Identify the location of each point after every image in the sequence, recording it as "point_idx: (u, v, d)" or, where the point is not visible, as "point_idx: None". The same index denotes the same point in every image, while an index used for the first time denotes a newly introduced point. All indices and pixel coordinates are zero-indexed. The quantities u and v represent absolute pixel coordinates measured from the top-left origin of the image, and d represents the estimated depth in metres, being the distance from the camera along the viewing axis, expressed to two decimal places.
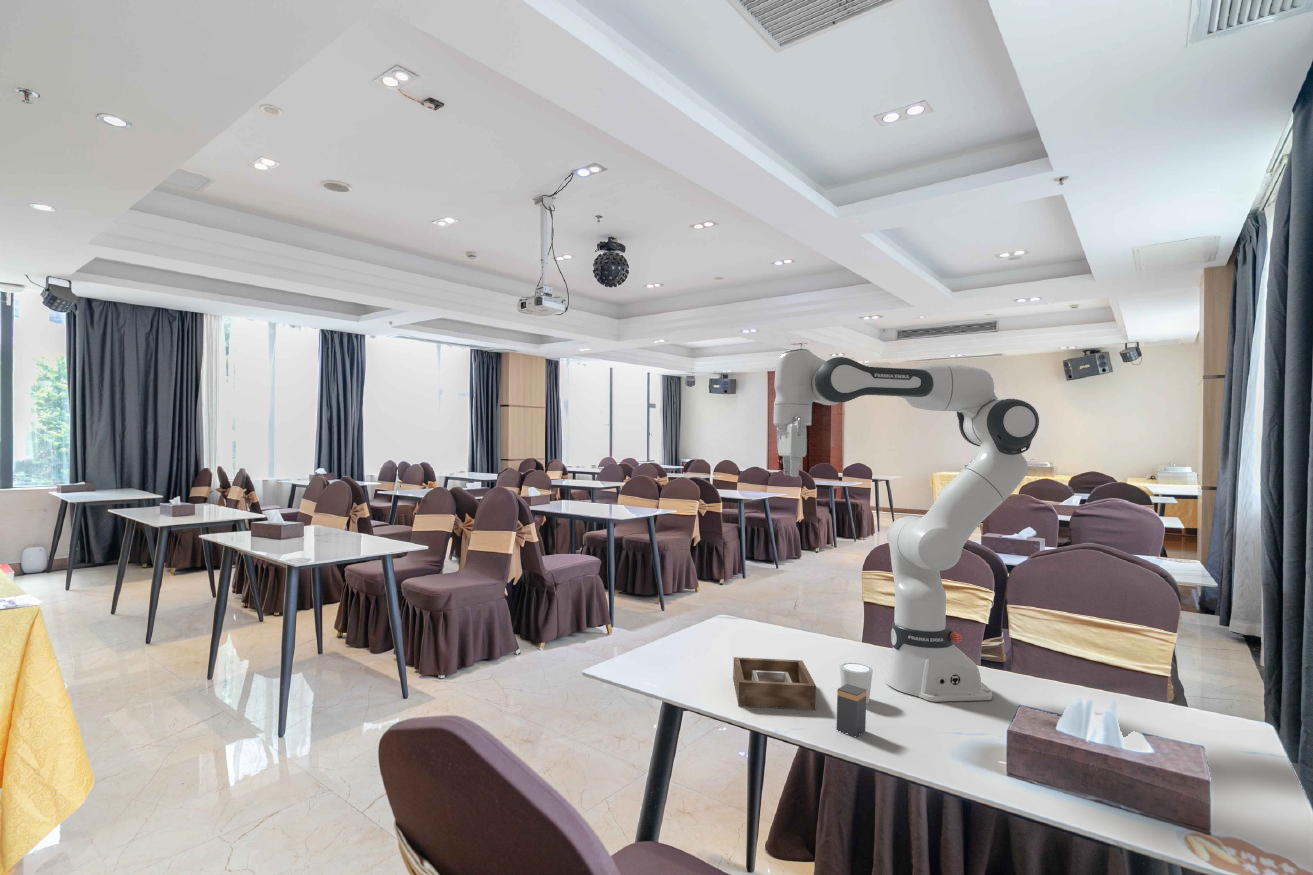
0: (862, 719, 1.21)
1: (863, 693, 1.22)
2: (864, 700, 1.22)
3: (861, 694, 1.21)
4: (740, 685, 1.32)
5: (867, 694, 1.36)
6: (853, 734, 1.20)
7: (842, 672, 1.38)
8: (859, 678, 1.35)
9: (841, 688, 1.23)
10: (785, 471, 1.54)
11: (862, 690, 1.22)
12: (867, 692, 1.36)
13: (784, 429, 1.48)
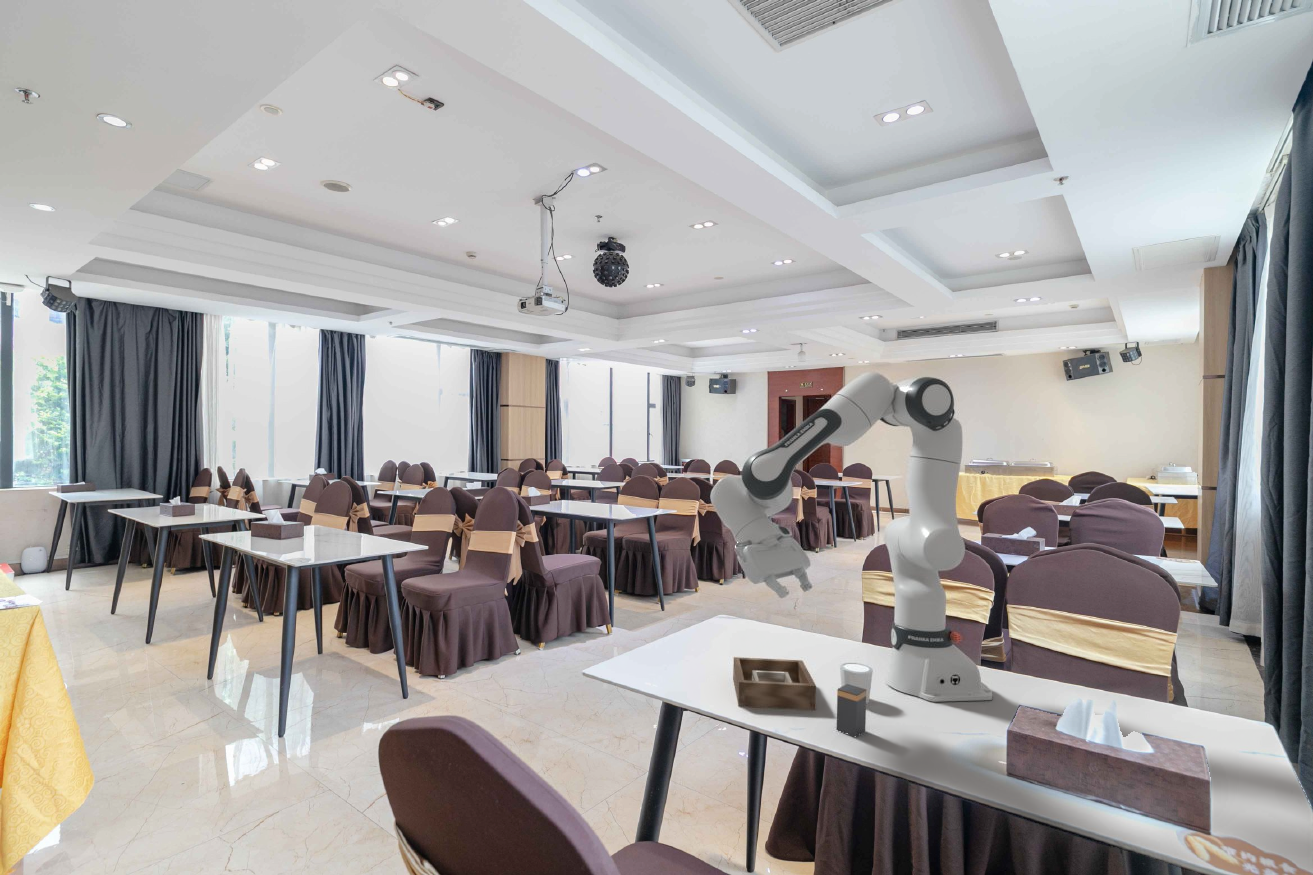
0: (862, 719, 1.21)
1: (863, 693, 1.22)
2: (864, 700, 1.22)
3: (861, 694, 1.21)
4: (740, 685, 1.32)
5: (867, 694, 1.36)
6: (853, 734, 1.20)
7: (842, 672, 1.38)
8: (859, 678, 1.35)
9: (841, 688, 1.23)
10: (802, 588, 1.35)
11: (862, 690, 1.22)
12: (867, 692, 1.36)
13: None
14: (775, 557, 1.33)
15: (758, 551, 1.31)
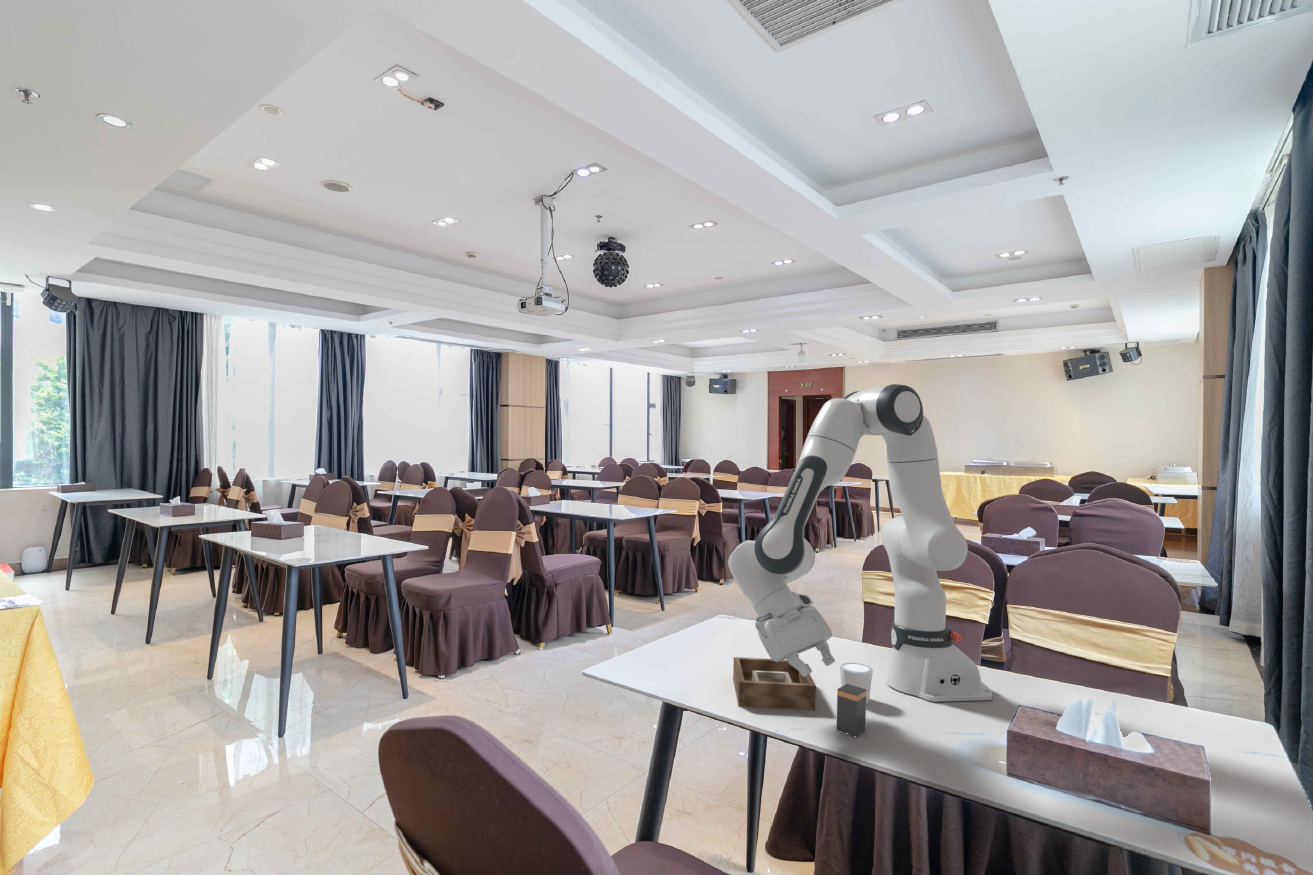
0: (862, 719, 1.21)
1: (863, 693, 1.22)
2: (864, 700, 1.22)
3: (861, 694, 1.21)
4: (740, 685, 1.32)
5: (867, 694, 1.36)
6: (853, 734, 1.20)
7: (842, 672, 1.38)
8: (859, 678, 1.35)
9: (841, 688, 1.23)
10: (825, 662, 1.31)
11: (862, 690, 1.22)
12: (867, 692, 1.36)
13: None
14: (796, 631, 1.29)
15: (779, 626, 1.27)
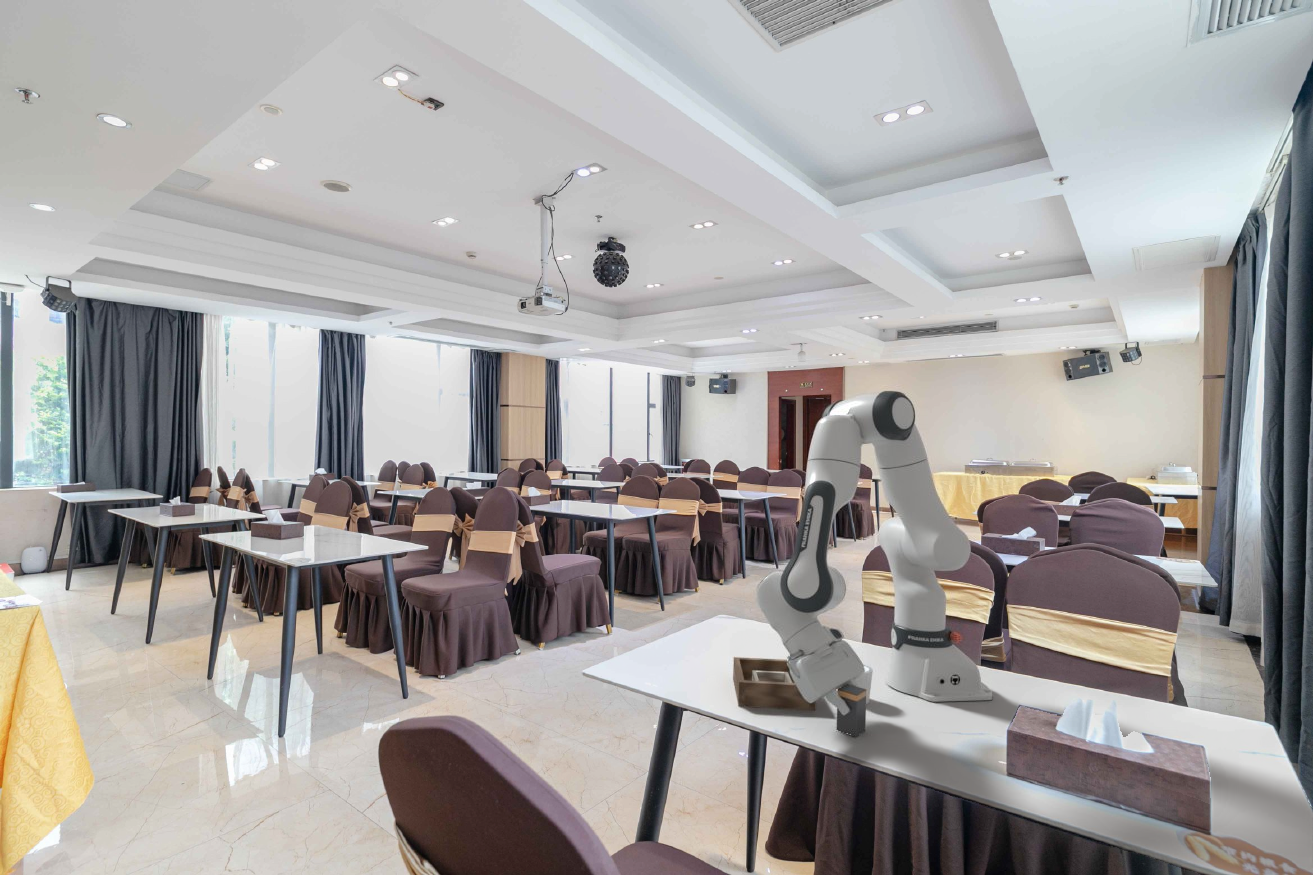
0: (862, 719, 1.21)
1: (863, 693, 1.22)
2: (864, 700, 1.22)
3: (861, 694, 1.21)
4: (740, 685, 1.32)
5: (867, 694, 1.36)
6: (853, 734, 1.20)
7: None
8: (859, 678, 1.35)
9: (841, 688, 1.23)
10: None
11: (862, 690, 1.22)
12: (867, 692, 1.36)
13: None
14: (829, 668, 1.24)
15: (812, 664, 1.22)
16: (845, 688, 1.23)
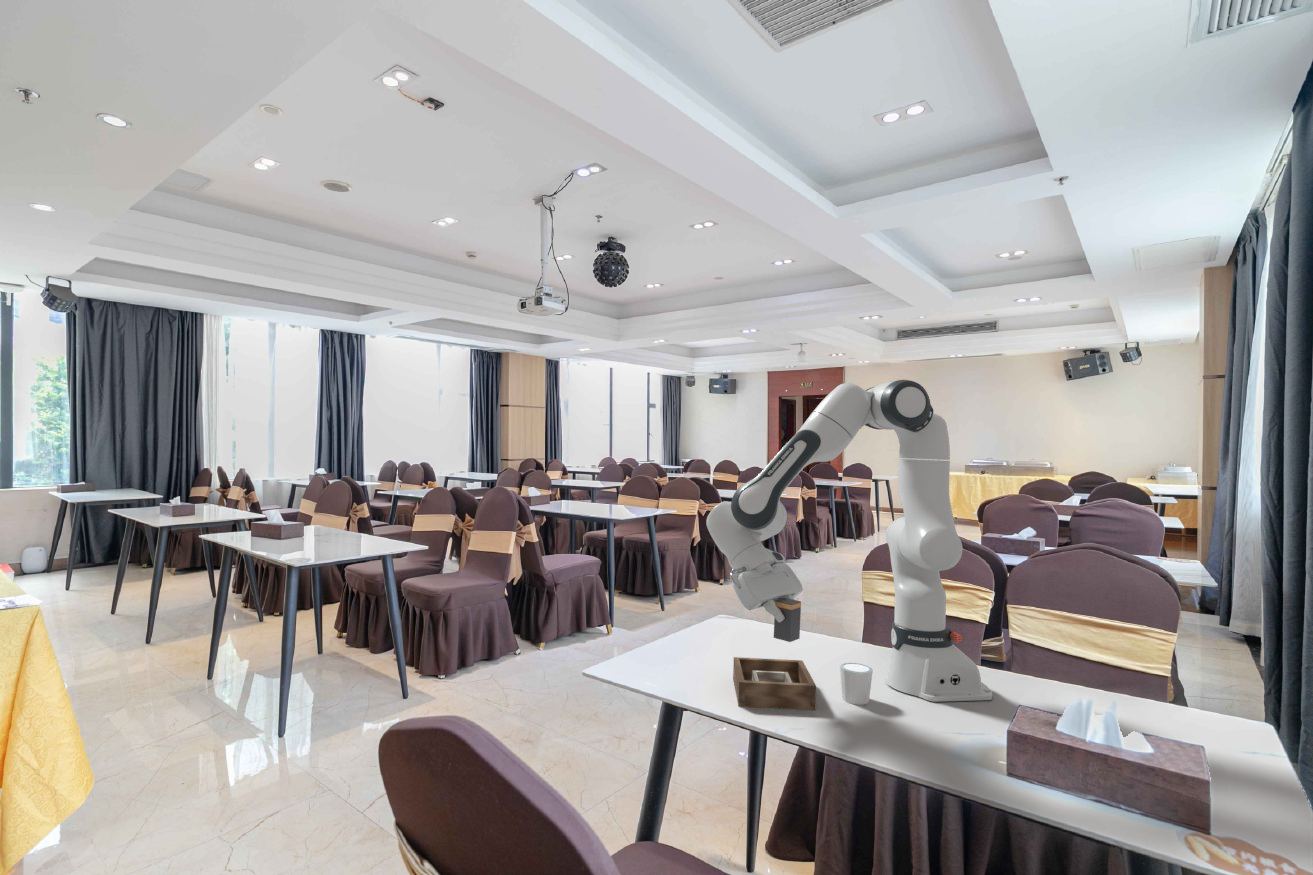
0: (796, 627, 1.36)
1: (798, 604, 1.36)
2: (798, 610, 1.36)
3: (796, 604, 1.35)
4: (740, 685, 1.32)
5: (867, 694, 1.36)
6: (787, 639, 1.34)
7: (842, 672, 1.38)
8: (859, 678, 1.35)
9: (778, 600, 1.37)
10: None
11: (797, 601, 1.36)
12: (867, 692, 1.36)
13: None
14: (768, 583, 1.38)
15: (752, 578, 1.36)
16: (782, 600, 1.37)
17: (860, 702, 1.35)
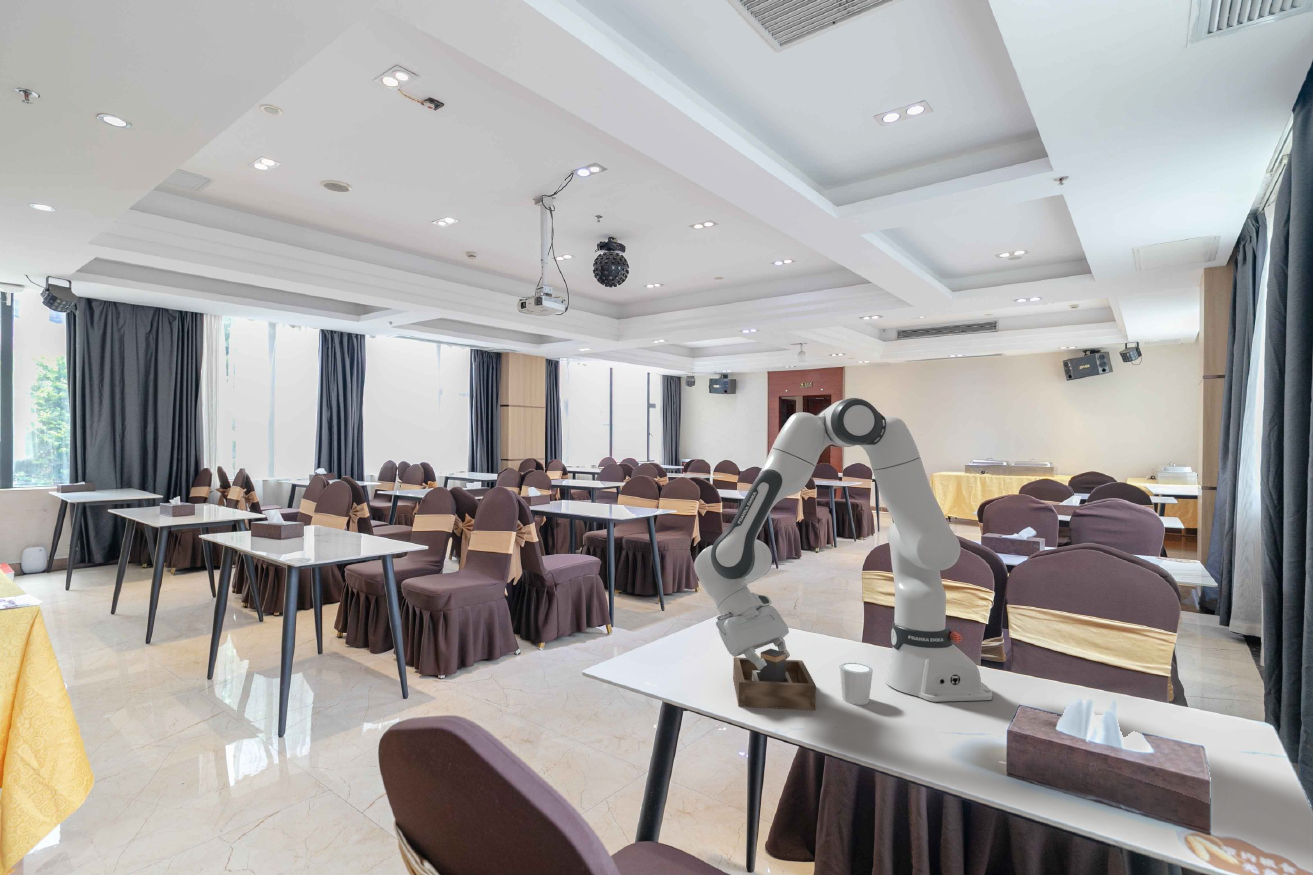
0: (781, 678, 1.39)
1: (782, 655, 1.39)
2: (783, 662, 1.40)
3: (780, 656, 1.39)
4: (740, 685, 1.32)
5: (867, 694, 1.36)
6: None
7: (842, 672, 1.38)
8: (859, 678, 1.35)
9: (764, 651, 1.40)
10: None
11: (782, 653, 1.40)
12: (867, 692, 1.36)
13: None
14: (754, 628, 1.41)
15: (738, 624, 1.40)
16: (767, 651, 1.41)
17: (860, 702, 1.35)
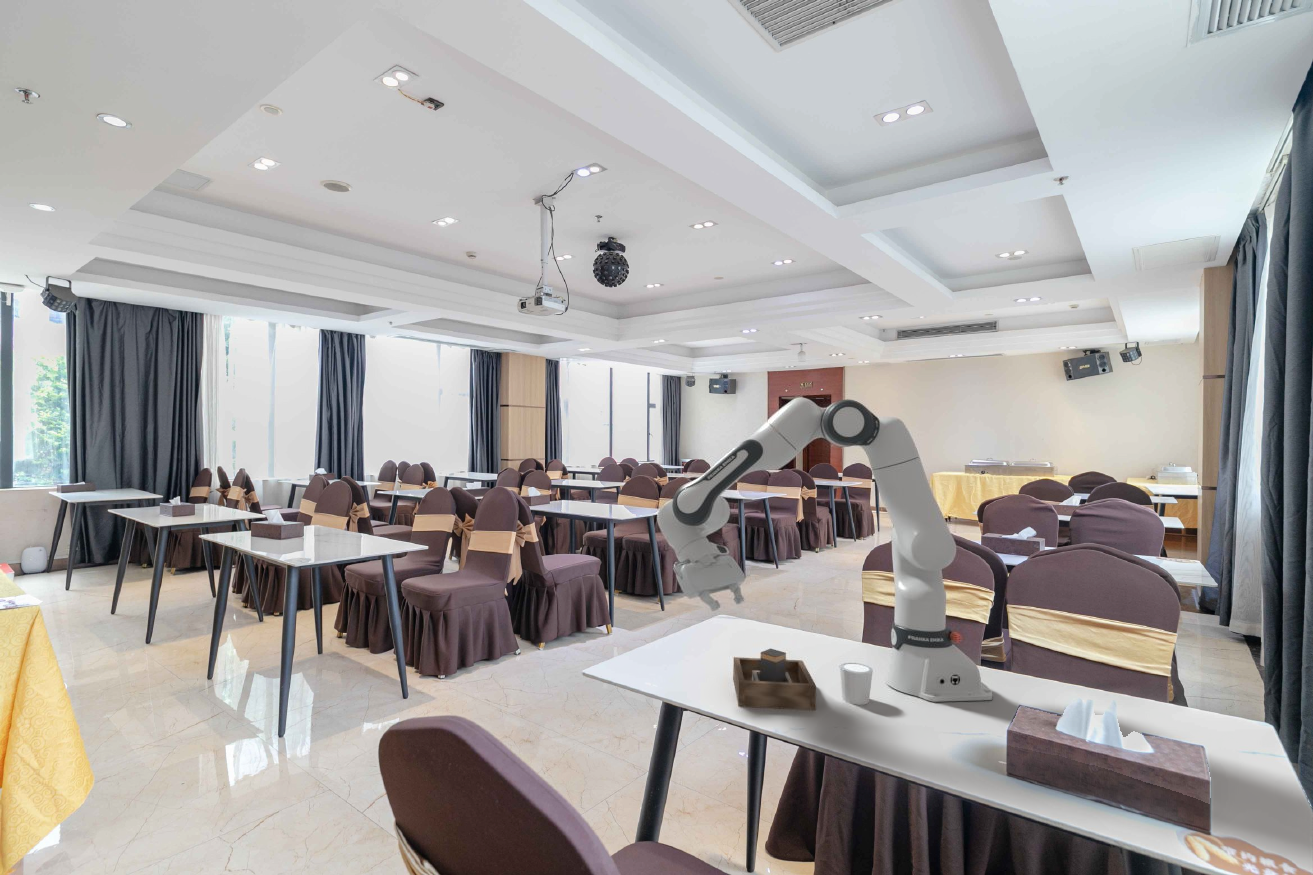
0: (781, 678, 1.39)
1: (782, 655, 1.39)
2: (783, 662, 1.40)
3: (780, 656, 1.39)
4: (740, 685, 1.32)
5: (867, 694, 1.36)
6: None
7: (842, 672, 1.38)
8: (859, 678, 1.35)
9: (764, 651, 1.40)
10: (736, 601, 1.52)
11: (782, 653, 1.40)
12: (867, 692, 1.36)
13: None
14: (710, 574, 1.50)
15: (694, 569, 1.49)
16: (767, 651, 1.41)
17: (860, 702, 1.35)
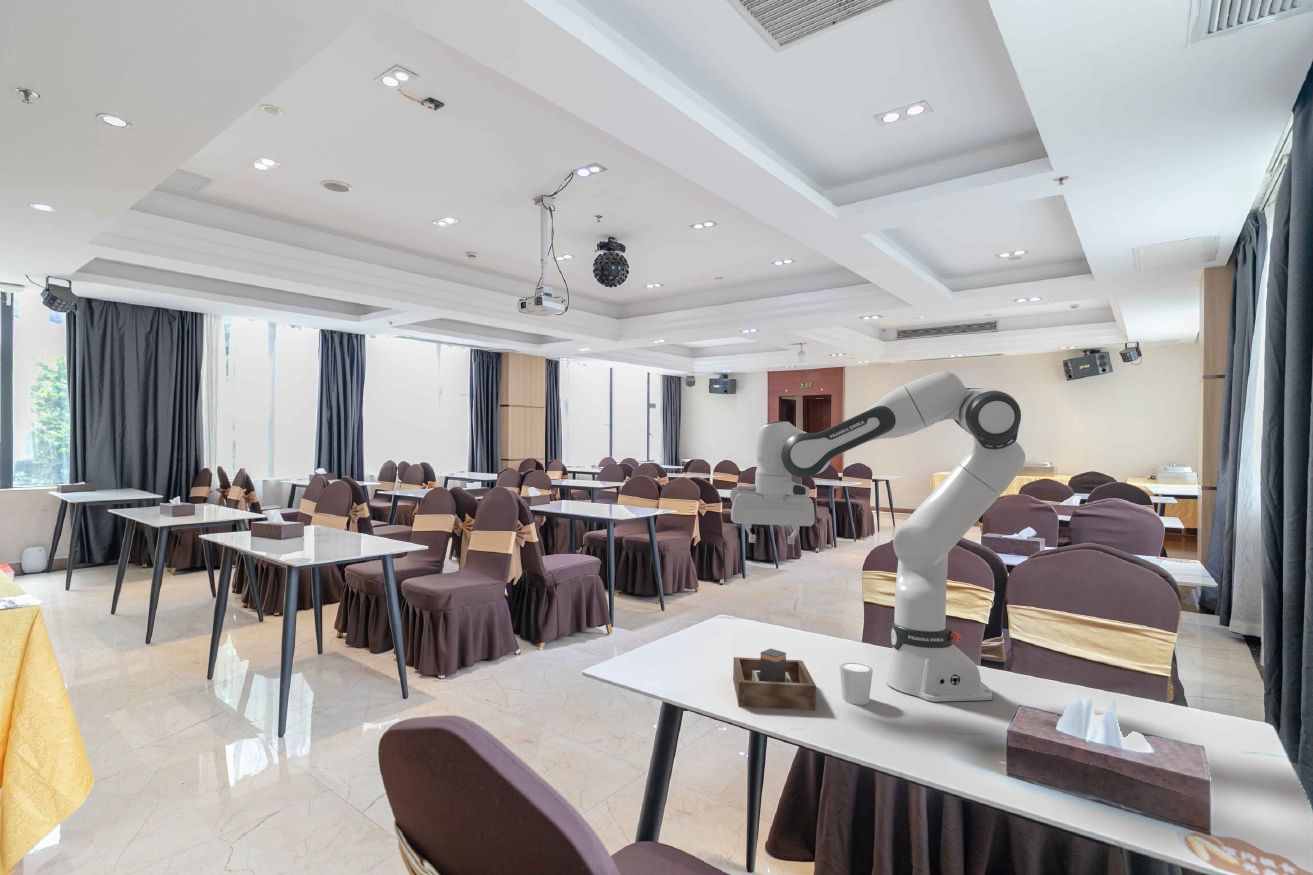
0: (781, 678, 1.39)
1: (782, 655, 1.39)
2: (783, 662, 1.40)
3: (780, 656, 1.39)
4: (740, 685, 1.32)
5: (867, 694, 1.36)
6: None
7: (842, 672, 1.38)
8: (859, 678, 1.35)
9: (764, 651, 1.40)
10: None
11: (782, 653, 1.40)
12: (867, 692, 1.36)
13: None
14: (765, 510, 1.54)
15: (749, 501, 1.54)
16: (767, 651, 1.41)
17: (860, 702, 1.35)
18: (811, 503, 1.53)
